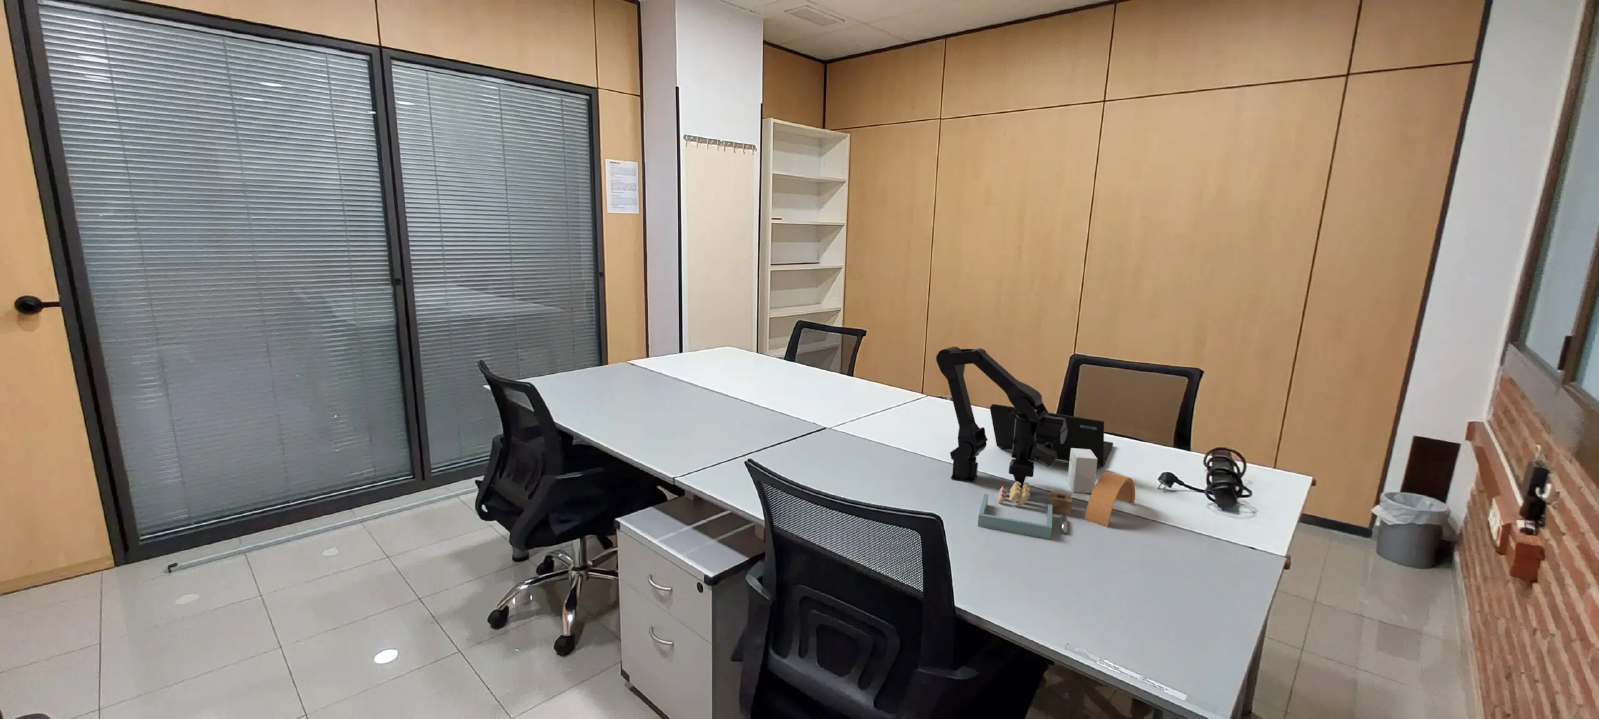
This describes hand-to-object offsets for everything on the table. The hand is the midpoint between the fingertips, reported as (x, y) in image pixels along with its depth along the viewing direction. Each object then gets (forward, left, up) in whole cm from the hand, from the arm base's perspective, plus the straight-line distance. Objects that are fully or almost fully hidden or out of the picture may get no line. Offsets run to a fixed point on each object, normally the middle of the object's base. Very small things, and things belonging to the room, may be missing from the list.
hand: (1019, 488), depth 178 cm
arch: (+23, -2, -2) cm, 23 cm away
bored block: (+10, -7, -2) cm, 13 cm away
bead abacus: (-1, -6, -2) cm, 7 cm away
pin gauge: (+11, -17, -2) cm, 20 cm away
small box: (+16, +11, -2) cm, 20 cm away
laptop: (+8, +38, -2) cm, 38 cm away
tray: (0, -18, -2) cm, 18 cm away
